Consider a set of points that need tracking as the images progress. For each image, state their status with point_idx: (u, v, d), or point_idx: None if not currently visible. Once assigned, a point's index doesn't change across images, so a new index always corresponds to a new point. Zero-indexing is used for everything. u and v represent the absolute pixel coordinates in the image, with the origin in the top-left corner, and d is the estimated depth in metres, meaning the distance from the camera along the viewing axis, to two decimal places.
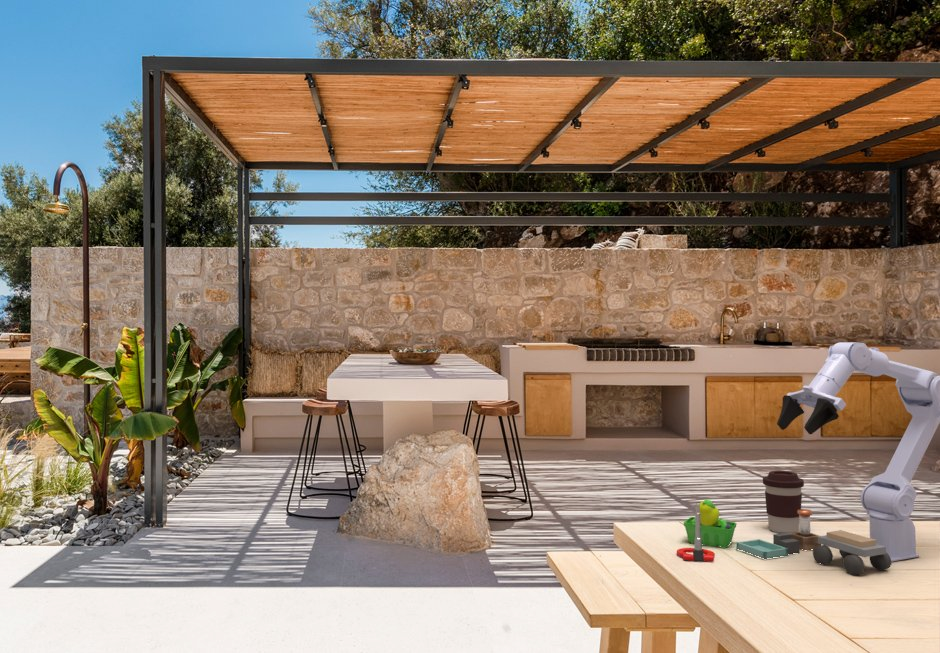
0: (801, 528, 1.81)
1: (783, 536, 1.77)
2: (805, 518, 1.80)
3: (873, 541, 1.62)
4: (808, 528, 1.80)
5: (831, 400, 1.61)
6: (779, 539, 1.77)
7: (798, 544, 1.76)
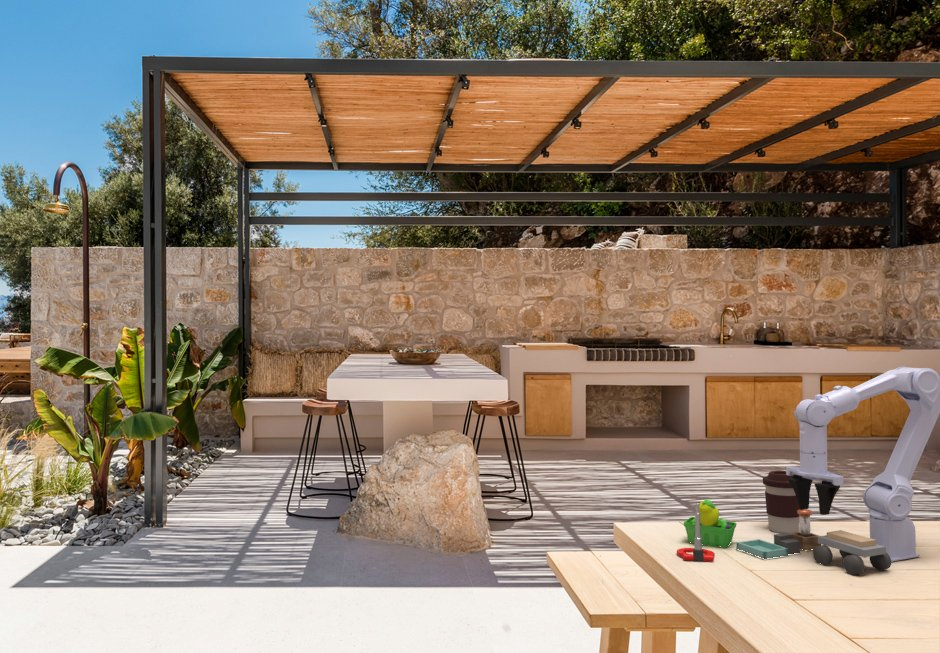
0: (801, 528, 1.81)
1: (784, 536, 1.77)
2: (805, 518, 1.80)
3: (873, 541, 1.62)
4: (808, 528, 1.80)
5: (829, 478, 1.68)
6: (780, 539, 1.77)
7: (799, 544, 1.76)
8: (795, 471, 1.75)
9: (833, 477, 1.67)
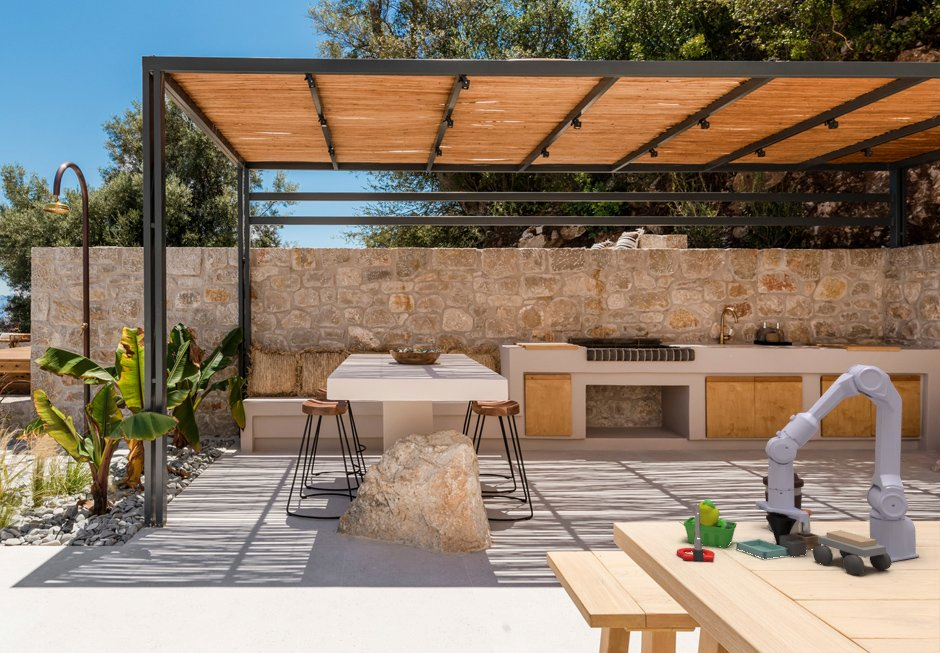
0: (801, 528, 1.81)
1: (789, 537, 1.75)
2: None
3: (873, 541, 1.62)
4: (808, 528, 1.80)
5: None
6: (785, 540, 1.75)
7: (804, 545, 1.74)
8: (763, 506, 1.81)
9: (799, 514, 1.72)
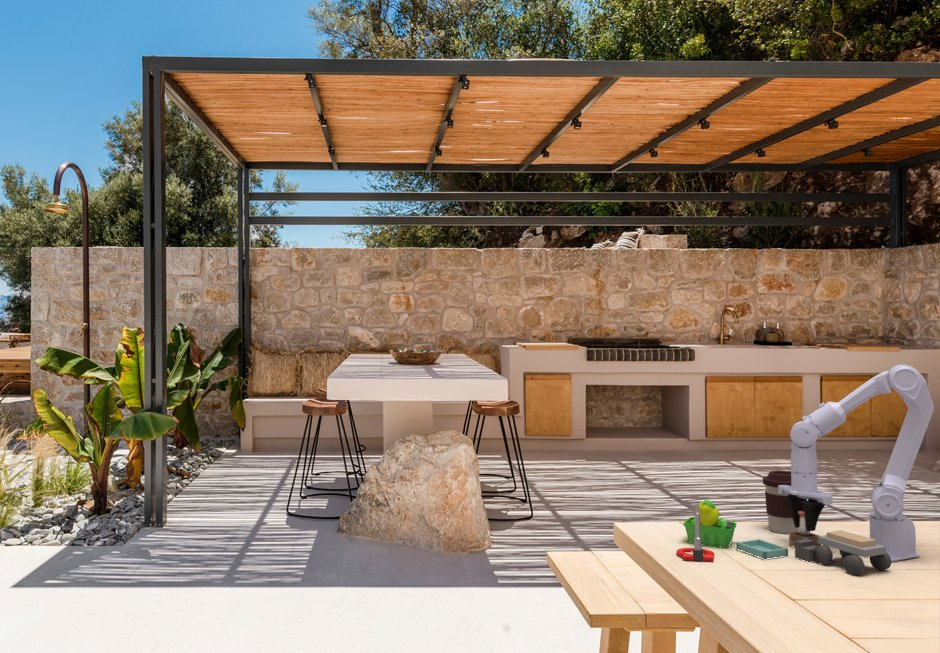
0: (801, 528, 1.81)
1: (805, 543, 1.71)
2: None
3: (873, 541, 1.62)
4: None
5: None
6: (801, 546, 1.71)
7: None
8: (787, 490, 1.84)
9: (822, 496, 1.75)
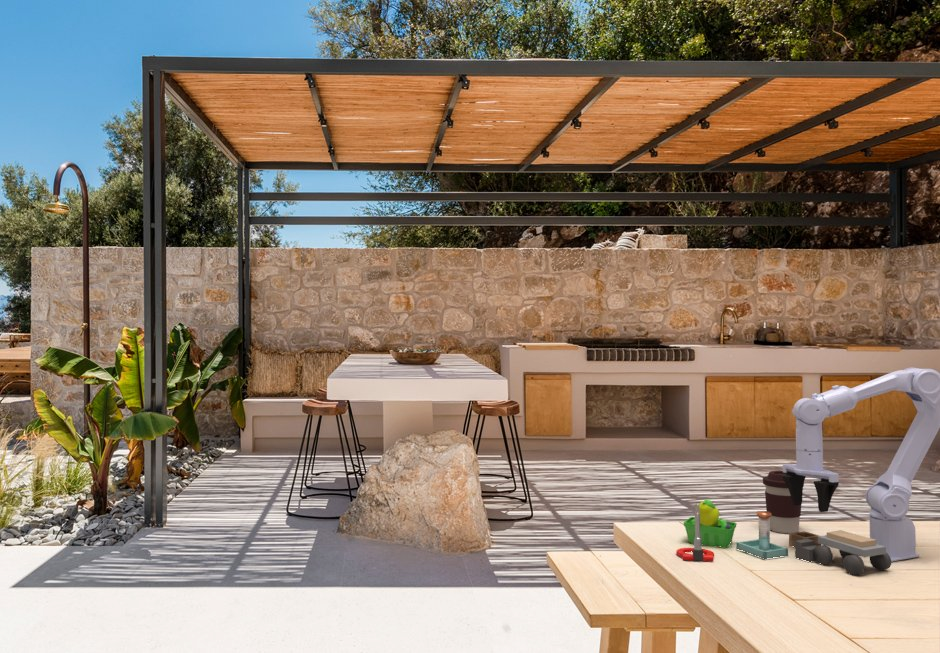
0: (760, 530, 1.77)
1: (805, 543, 1.71)
2: (764, 520, 1.76)
3: (873, 541, 1.62)
4: (768, 531, 1.76)
5: (824, 476, 1.72)
6: (801, 546, 1.71)
7: None
8: (791, 468, 1.79)
9: (828, 474, 1.70)
